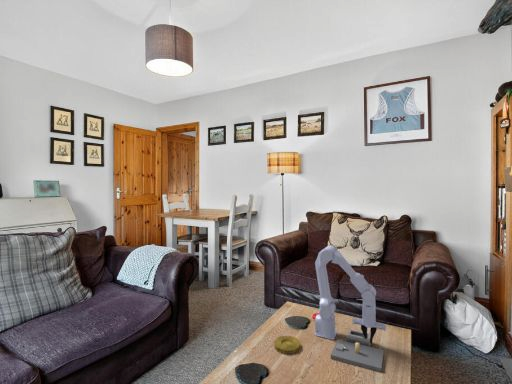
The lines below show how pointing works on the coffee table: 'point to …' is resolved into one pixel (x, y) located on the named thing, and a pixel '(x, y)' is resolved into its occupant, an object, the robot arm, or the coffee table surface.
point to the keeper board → (359, 355)
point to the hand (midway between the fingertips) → (368, 341)
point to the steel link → (358, 337)
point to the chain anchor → (341, 347)
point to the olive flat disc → (287, 344)
